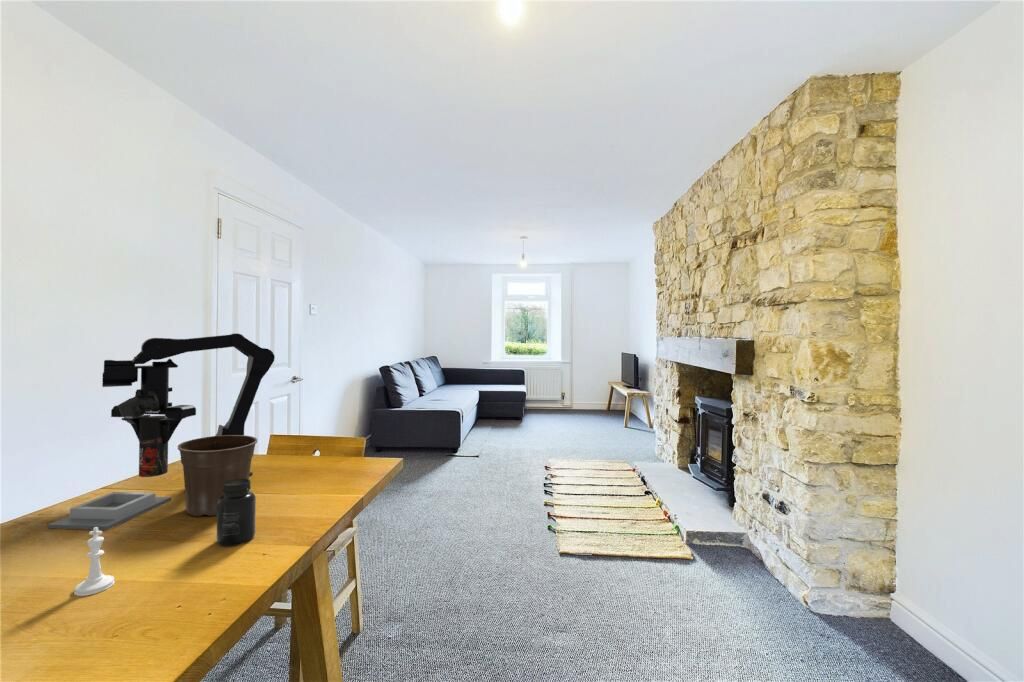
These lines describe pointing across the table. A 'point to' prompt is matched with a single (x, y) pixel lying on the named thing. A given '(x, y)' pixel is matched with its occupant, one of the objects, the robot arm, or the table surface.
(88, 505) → the socket board
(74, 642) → the table surface
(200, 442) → the plant pot
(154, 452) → the deodorant
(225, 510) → the supplement bottle
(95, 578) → the chess piece
